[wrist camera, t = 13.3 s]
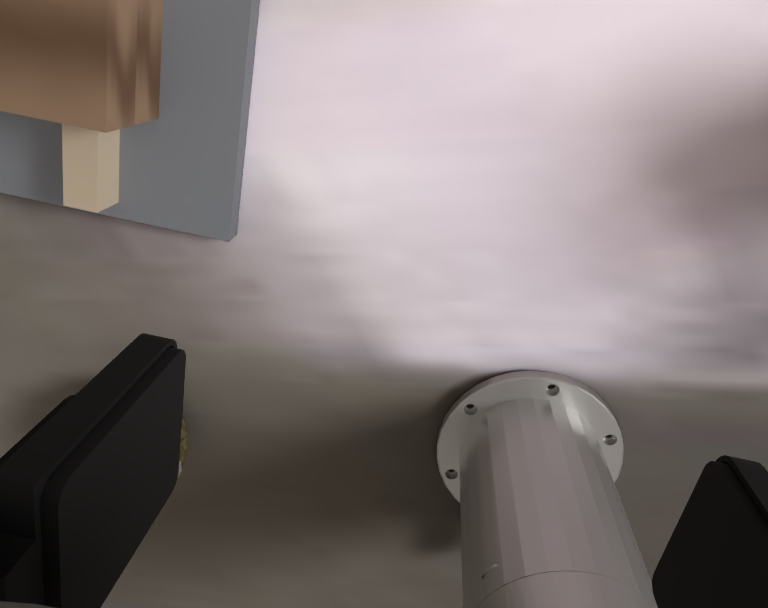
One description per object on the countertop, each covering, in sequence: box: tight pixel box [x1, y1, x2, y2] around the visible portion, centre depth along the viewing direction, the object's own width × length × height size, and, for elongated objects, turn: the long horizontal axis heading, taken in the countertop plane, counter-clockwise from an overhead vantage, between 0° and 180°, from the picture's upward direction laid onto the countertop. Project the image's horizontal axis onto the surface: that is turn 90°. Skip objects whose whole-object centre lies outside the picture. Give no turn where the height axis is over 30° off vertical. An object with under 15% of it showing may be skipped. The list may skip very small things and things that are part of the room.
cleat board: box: [0, 0, 260, 242], centre depth 34 cm, size 20×16×4 cm
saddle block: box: [0, 0, 163, 133], centre depth 32 cm, size 7×6×6 cm
